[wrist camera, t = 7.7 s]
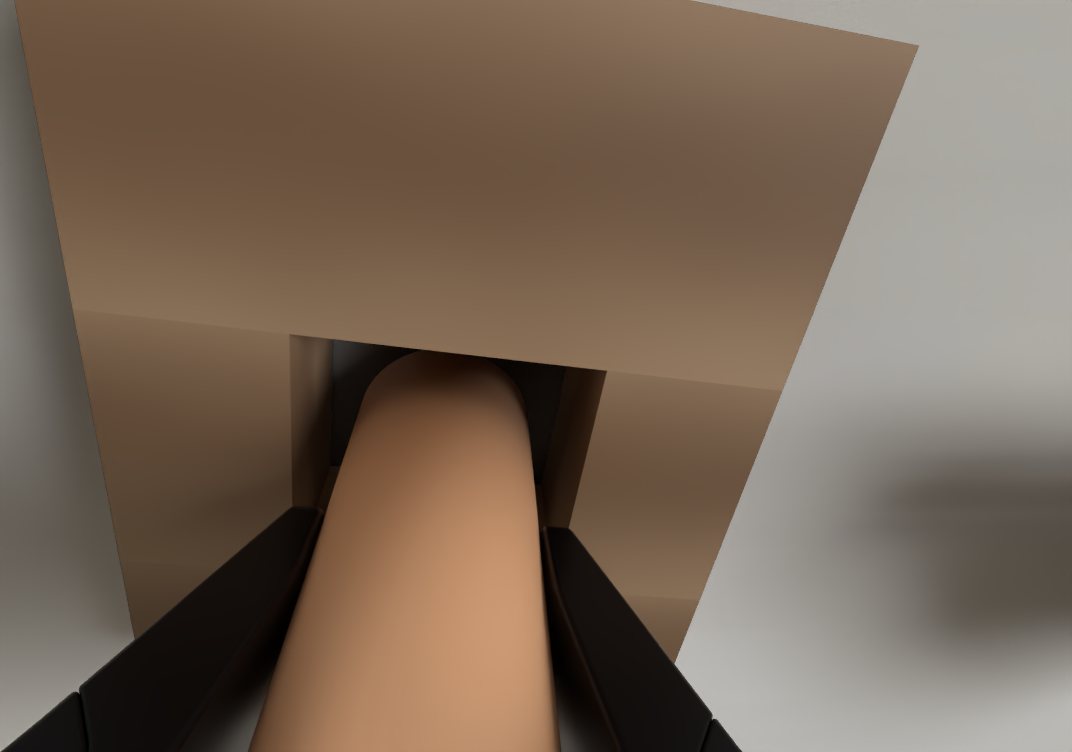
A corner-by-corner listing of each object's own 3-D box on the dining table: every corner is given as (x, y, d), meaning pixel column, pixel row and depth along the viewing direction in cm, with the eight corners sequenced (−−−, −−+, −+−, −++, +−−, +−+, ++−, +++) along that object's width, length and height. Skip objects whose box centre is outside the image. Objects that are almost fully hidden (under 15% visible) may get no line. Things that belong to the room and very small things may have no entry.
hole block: (615, 638, 17) (639, 752, 14) (209, 615, 15) (152, 737, 13) (808, 38, 10) (918, 45, 8) (135, -93, 9) (-13, -139, 6)
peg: (514, 495, 13) (575, 1561, 4) (357, 480, 12) (30, 1639, 3) (540, 359, 11) (725, 1551, 2) (363, 338, 11) (-154, 1676, 2)
